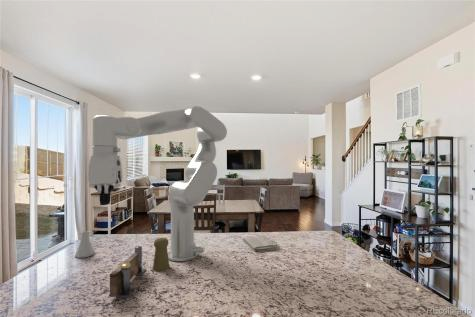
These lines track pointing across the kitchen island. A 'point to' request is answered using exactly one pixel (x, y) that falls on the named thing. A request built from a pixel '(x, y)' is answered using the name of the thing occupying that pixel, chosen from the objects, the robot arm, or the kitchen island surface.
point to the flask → (84, 246)
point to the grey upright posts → (125, 275)
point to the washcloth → (260, 243)
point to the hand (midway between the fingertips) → (105, 204)
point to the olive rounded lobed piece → (161, 255)
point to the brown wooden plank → (116, 274)
